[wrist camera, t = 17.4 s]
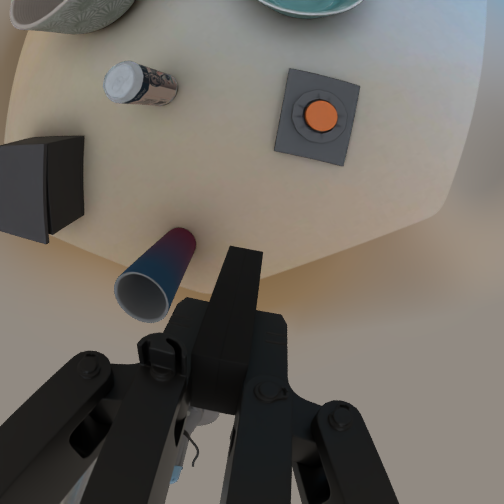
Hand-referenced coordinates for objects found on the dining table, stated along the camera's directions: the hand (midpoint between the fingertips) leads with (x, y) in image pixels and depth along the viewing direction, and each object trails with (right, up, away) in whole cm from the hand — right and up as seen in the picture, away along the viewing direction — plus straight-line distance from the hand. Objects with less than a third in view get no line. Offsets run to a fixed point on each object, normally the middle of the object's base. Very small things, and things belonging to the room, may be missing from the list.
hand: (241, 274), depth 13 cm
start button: (+8, +17, +16) cm, 25 cm away
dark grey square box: (-34, +15, +26) cm, 45 cm away
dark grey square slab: (-35, +10, +17) cm, 40 cm away
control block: (+9, +18, +20) cm, 28 cm away
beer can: (-12, +23, +19) cm, 33 cm away
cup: (-10, +3, +29) cm, 31 cm away
